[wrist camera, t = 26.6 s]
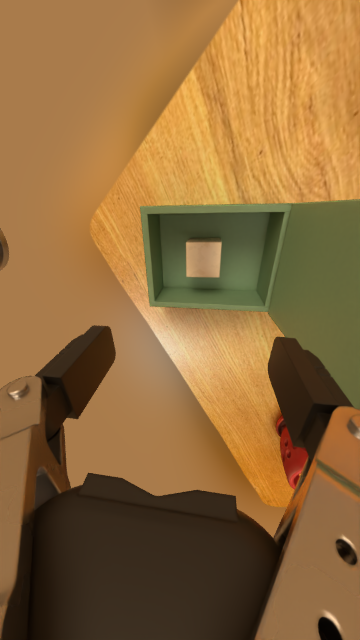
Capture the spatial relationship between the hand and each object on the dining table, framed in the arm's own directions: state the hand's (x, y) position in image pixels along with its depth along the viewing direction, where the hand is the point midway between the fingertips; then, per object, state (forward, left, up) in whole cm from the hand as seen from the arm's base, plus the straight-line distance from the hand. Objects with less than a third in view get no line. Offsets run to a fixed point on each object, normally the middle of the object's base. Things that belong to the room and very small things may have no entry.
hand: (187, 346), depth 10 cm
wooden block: (0, 0, -23) cm, 23 cm away
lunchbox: (+1, 0, -24) cm, 24 cm away
